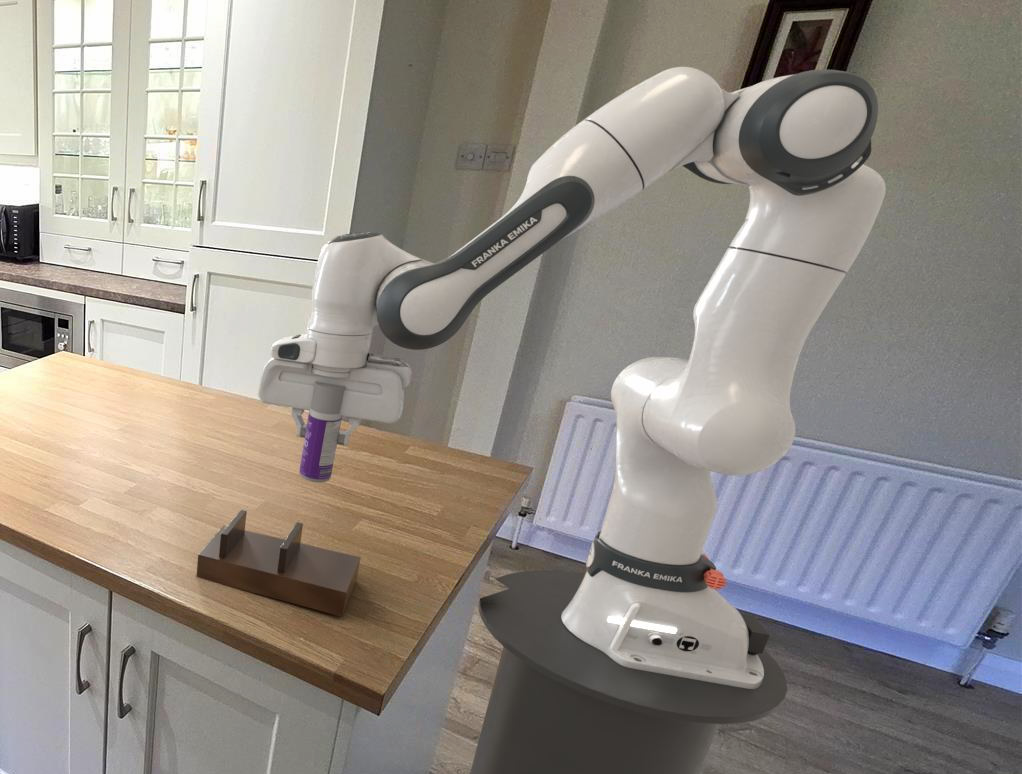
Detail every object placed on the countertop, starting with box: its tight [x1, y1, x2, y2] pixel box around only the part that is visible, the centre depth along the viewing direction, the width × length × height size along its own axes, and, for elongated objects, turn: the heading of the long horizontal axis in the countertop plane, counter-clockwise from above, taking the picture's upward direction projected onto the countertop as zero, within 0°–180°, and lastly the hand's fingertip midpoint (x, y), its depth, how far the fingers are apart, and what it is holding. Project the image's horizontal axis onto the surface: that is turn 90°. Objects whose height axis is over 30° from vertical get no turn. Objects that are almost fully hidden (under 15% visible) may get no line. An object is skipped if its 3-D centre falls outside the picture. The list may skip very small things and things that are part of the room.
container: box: [298, 382, 346, 483], centre depth 110 cm, size 5×5×15 cm
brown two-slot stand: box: [195, 509, 362, 617], centre depth 114 cm, size 22×12×8 cm, turn 60°
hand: (322, 440), depth 111 cm, fingers closed on container, 4 cm apart
